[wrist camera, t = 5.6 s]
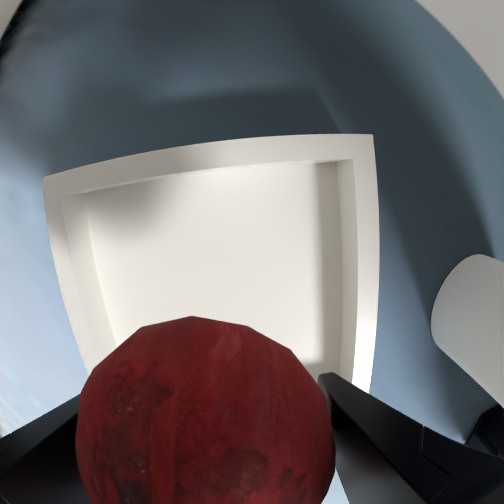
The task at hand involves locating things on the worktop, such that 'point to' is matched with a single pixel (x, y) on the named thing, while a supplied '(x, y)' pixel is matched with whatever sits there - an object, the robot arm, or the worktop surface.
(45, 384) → the worktop surface
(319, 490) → the onion
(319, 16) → the worktop surface
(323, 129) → the worktop surface
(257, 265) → the tray
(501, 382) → the cylindrical container
